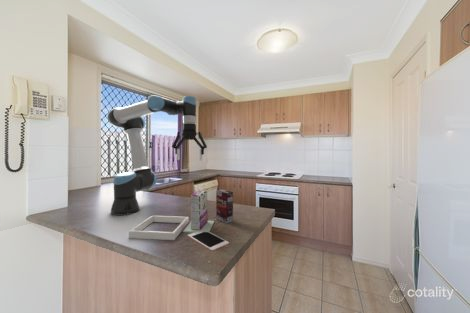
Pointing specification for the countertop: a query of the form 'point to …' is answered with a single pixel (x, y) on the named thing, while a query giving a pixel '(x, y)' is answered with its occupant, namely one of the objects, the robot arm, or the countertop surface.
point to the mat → (205, 228)
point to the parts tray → (140, 234)
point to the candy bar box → (198, 209)
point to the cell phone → (208, 240)
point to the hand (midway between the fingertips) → (189, 160)
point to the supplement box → (224, 206)
